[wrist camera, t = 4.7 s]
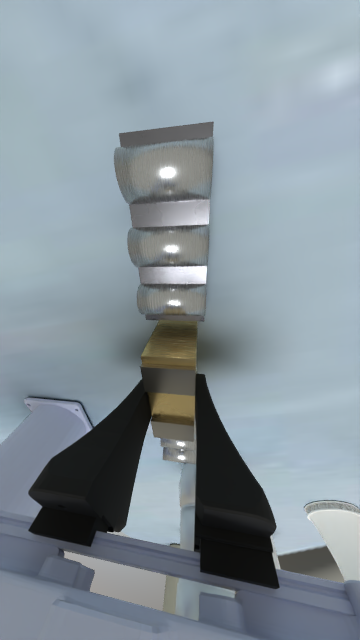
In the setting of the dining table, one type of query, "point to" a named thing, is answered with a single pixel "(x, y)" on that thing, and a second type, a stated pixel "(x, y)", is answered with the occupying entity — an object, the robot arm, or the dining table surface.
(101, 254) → the dining table surface
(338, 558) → the vase
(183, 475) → the plastic bottle
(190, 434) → the gold block
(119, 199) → the dining table surface
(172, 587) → the travel mug
